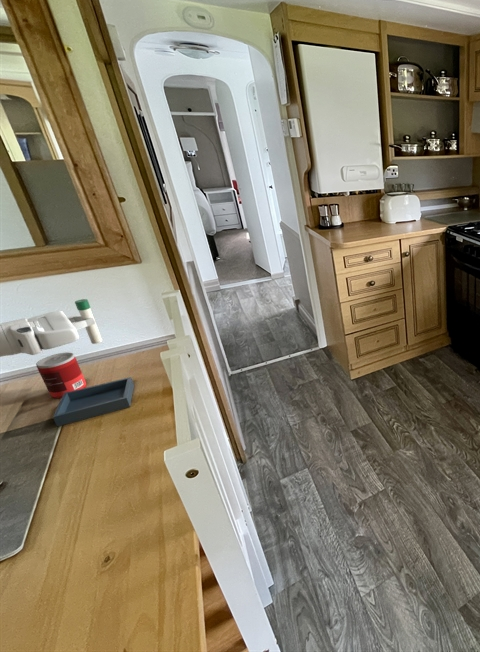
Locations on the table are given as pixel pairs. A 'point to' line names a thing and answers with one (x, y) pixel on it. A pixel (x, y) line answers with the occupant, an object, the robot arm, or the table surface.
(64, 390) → the canned food
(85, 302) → the marker
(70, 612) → the table surface
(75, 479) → the table surface
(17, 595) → the table surface
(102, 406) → the tray
